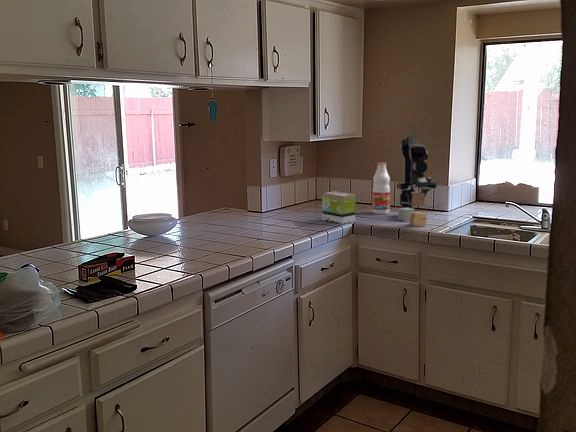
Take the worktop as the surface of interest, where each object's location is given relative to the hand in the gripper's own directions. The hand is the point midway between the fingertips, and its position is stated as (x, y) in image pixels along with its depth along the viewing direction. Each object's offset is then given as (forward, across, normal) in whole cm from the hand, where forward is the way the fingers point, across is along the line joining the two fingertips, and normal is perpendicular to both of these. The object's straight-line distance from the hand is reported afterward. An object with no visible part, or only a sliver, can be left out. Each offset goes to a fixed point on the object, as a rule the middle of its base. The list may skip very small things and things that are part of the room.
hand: (416, 202), depth 288 cm
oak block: (+11, +1, 0) cm, 11 cm away
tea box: (+11, -34, +19) cm, 41 cm away
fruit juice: (+11, -5, +36) cm, 38 cm away
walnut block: (+1, 0, 0) cm, 1 cm away
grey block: (+11, +1, +14) cm, 18 cm away
